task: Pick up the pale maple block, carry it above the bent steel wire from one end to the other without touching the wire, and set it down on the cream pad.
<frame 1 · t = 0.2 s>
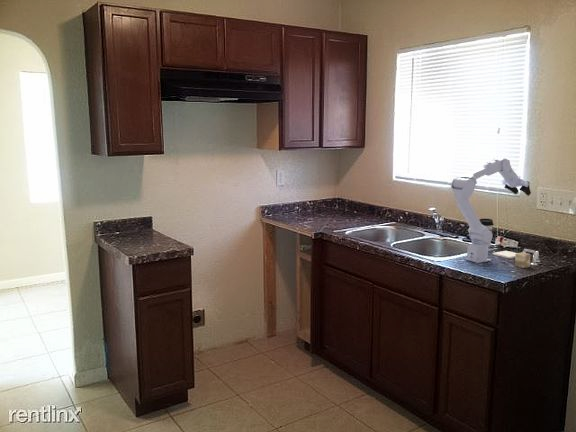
hand: (523, 193, 258), 31 cm above the worktop, tool tilted 45°, fingers open, 7 cm apart
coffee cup: (484, 246, 280), on the worktop
bent wire: (528, 261, 247), on the worktop
cream pad: (507, 255, 260), on the worktop
maple block: (522, 266, 239), on the worktop
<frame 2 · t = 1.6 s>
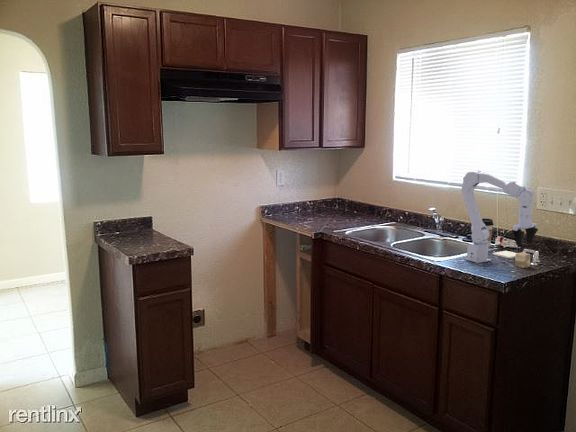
hand: (524, 244, 237), 11 cm above the worktop, tool pointing down, fingers open, 7 cm apart
nothing on the worktop moved.
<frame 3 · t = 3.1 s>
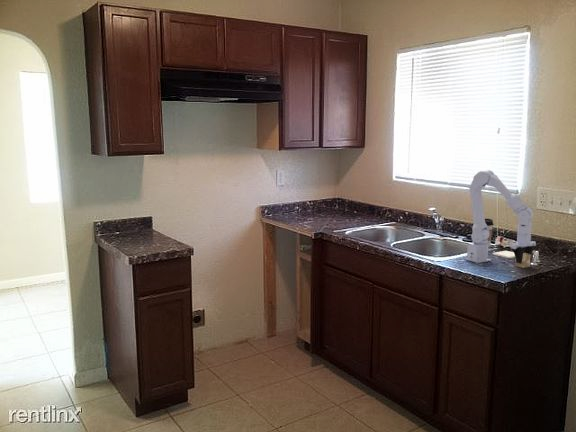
hand: (522, 262, 238), 2 cm above the worktop, tool pointing down, fingers closed on maple block, 4 cm apart
maple block: (522, 266, 239), on the worktop, touching gripper
everything else where it was.
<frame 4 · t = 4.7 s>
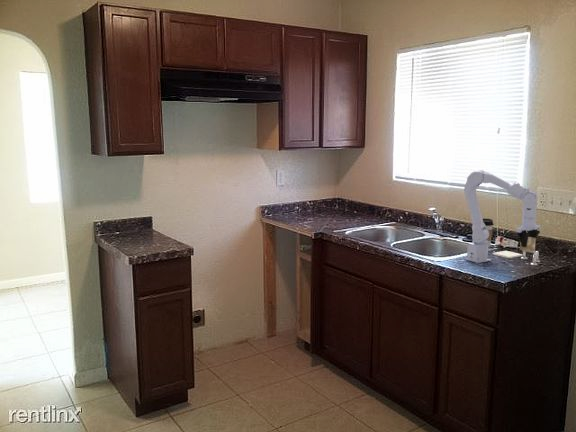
hand: (527, 246, 238), 9 cm above the worktop, tool pointing down, fingers closed on maple block, 4 cm apart
maple block: (527, 250, 238), point 7 cm above the worktop, touching gripper
everything else where it was.
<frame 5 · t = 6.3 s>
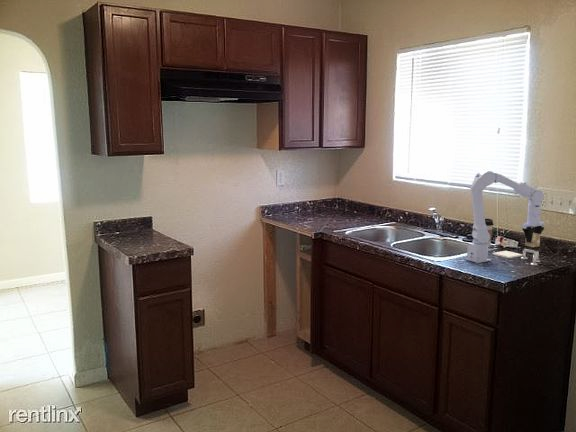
hand: (532, 241, 248), 9 cm above the worktop, tool pointing down, fingers closed on maple block, 4 cm apart
maple block: (532, 245, 248), point 7 cm above the worktop, touching gripper
everything else where it was.
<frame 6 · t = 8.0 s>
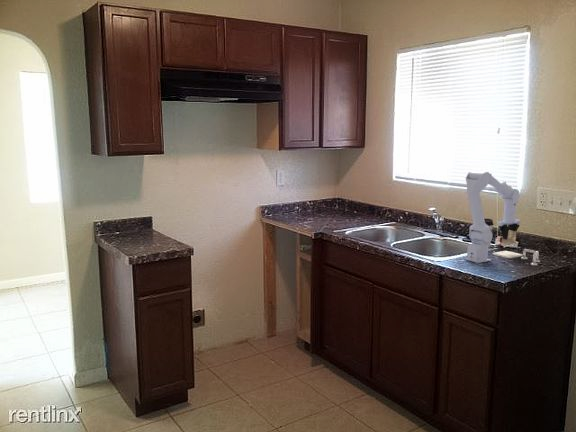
hand: (508, 238, 259), 9 cm above the worktop, tool pointing down, fingers closed on maple block, 4 cm apart
maple block: (508, 242, 259), point 7 cm above the worktop, touching gripper
everything else where it was.
when the fingers open (4 cm above the worktop, at t = 9.4 s): maple block stays where it is, resting on cream pad.
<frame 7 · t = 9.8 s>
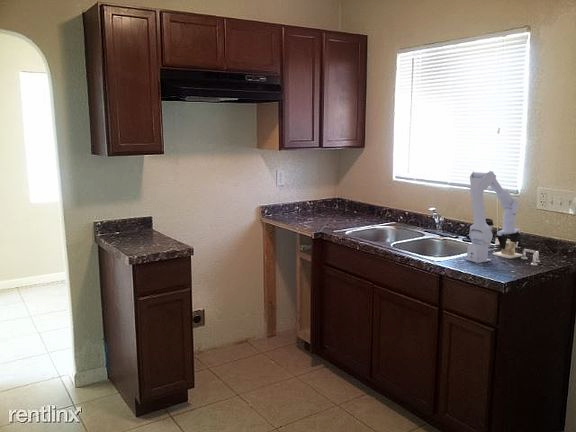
hand: (507, 247, 259), 4 cm above the worktop, tool pointing down, fingers open, 7 cm apart
maple block: (507, 253, 260), point 1 cm above the worktop, touching cream pad
everything else where it was.
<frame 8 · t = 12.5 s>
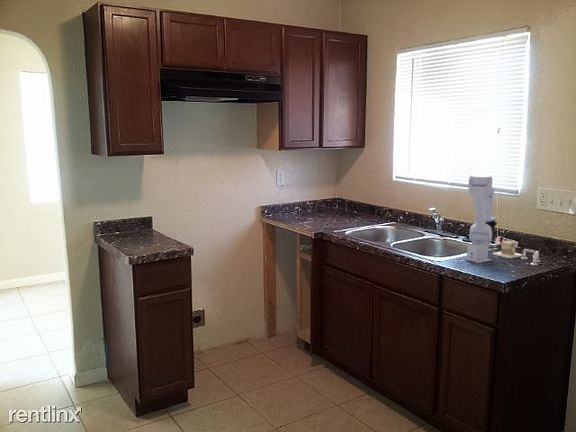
hand: (484, 236, 262), 9 cm above the worktop, tool pointing down, fingers open, 7 cm apart
nothing on the worktop moved.
at the end: maple block inside the target area on the cream pad (0.3 cm from its centre), point 0.8 cm above the cream pad's base; maple block tilted 0°; maple block touching cream pad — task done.
